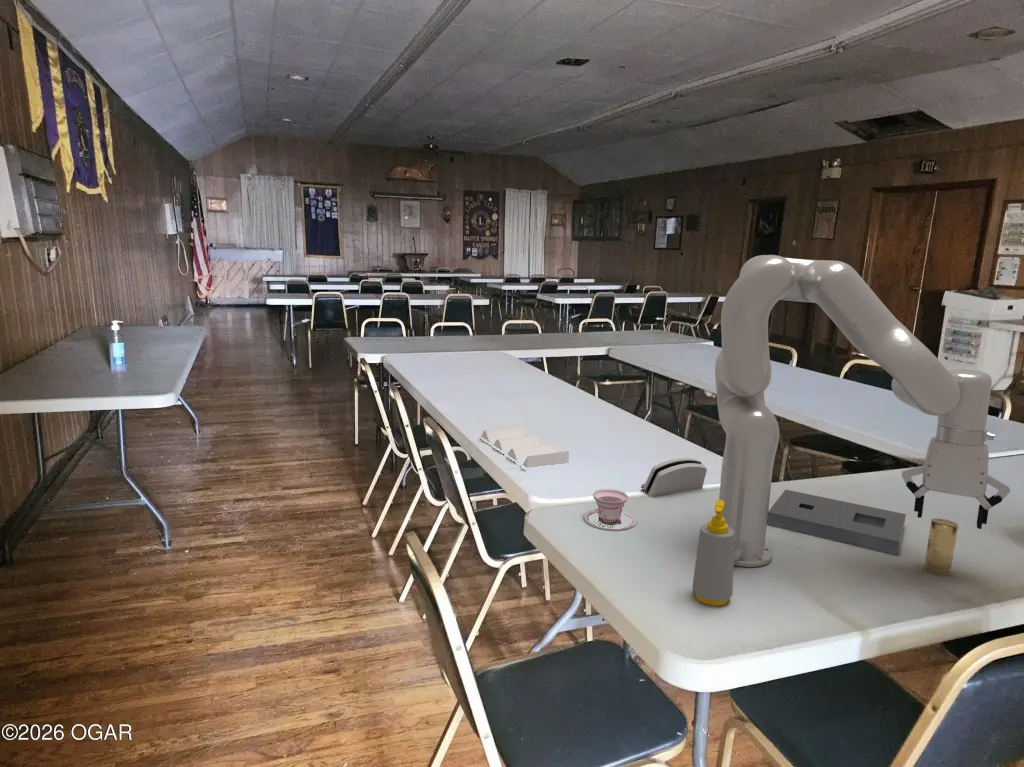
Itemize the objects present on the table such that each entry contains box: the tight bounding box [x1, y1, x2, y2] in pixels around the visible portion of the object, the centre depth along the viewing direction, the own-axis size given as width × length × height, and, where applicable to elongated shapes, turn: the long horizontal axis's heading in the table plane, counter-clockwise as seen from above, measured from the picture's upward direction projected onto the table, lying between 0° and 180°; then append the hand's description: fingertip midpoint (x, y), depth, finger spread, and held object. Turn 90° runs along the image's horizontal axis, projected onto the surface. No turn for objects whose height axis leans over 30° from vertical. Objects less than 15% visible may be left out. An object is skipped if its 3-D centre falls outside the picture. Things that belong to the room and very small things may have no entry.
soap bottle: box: [691, 499, 735, 607], centre depth 116 cm, size 7×7×18 cm
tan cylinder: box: [923, 517, 959, 577], centre depth 129 cm, size 4×4×10 cm
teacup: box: [583, 488, 638, 532], centre depth 151 cm, size 12×12×6 cm
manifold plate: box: [767, 489, 907, 556], centre depth 151 cm, size 18×26×3 cm
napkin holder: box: [640, 457, 707, 497], centre depth 170 cm, size 17×5×10 cm, turn 115°
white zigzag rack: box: [480, 426, 570, 468], centre depth 201 cm, size 13×35×5 cm, turn 25°
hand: (948, 520), depth 128 cm, fingers open, 9 cm apart
